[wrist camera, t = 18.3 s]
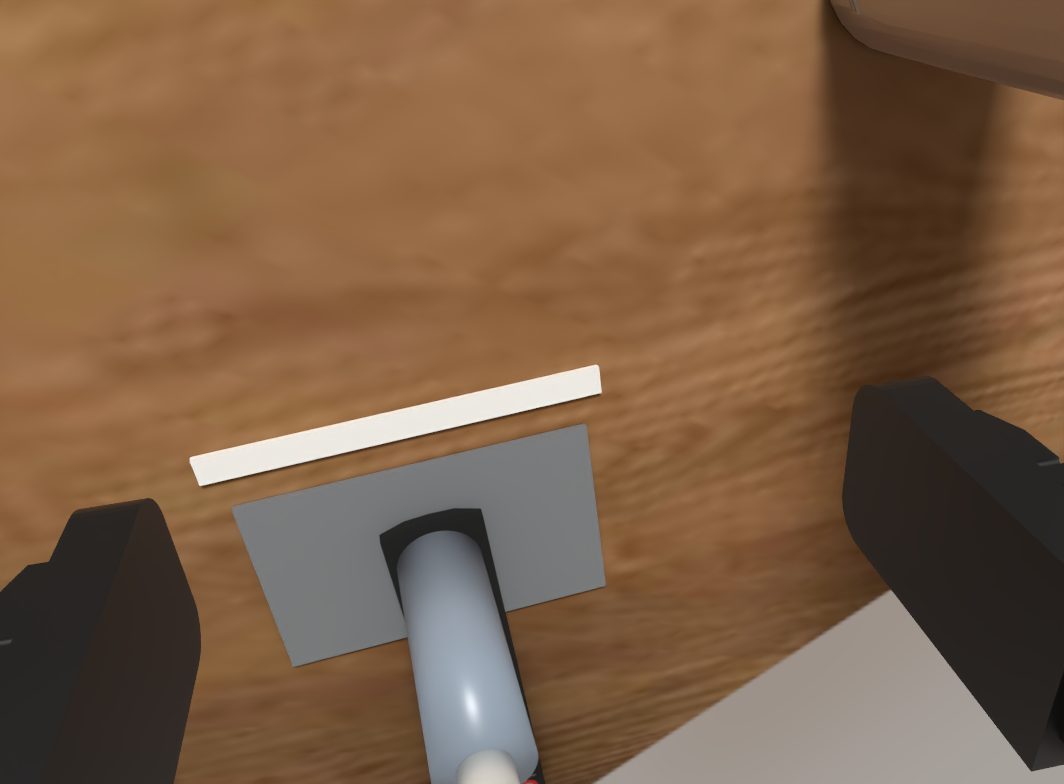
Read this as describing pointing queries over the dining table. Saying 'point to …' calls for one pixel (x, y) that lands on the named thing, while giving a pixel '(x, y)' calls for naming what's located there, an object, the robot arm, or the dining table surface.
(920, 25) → the robot arm
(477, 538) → the remote control
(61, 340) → the dining table surface
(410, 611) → the slim bottle
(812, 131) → the dining table surface
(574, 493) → the mat
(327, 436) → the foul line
